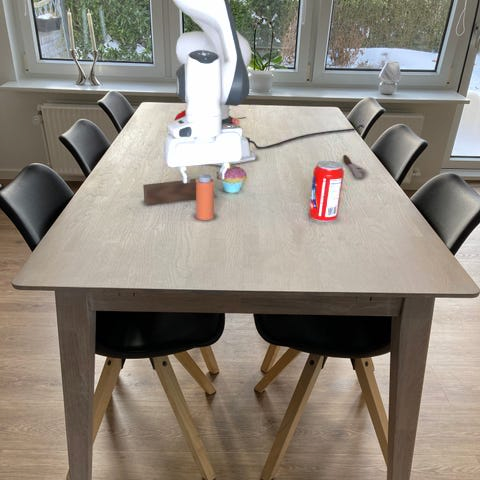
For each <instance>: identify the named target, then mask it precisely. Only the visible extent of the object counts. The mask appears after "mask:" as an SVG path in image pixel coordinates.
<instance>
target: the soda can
mask: <svg viewBox="0 0 480 480" xmlns="http://www.w3.org/2000/svg"><path fill="white" fill-rule="evenodd" d="M344 176H345V170H344V169H343V164H342V163H340V162H339V161H335V160H320V161H317V163H316V166H315V167H314V168H313V172H312V181H311V191H310V200H309V208H308V216H309V217H310V218H311V219H313V220H314V221H316V222H318V223H319V222H320V223H330V222H333V221H335V220H336V219H337V218H338V215H339V210H340V201H341V197H342V196H341V195H342V188H343V182H344Z"/></svg>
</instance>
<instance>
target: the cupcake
mask: <svg viewBox="0 0 480 480" xmlns="http://www.w3.org/2000/svg"><path fill="white" fill-rule="evenodd" d="M247 178H248V176H247V172H246V171H245V169H244V168H242V167H241V166H237V165H231V164H230V162H229V166H228V168H227V170H226V172H225V173H224V179H221V180H220V182H221V184H222V186H223V190H224V192H226V193H230V194H235V193H239V192H240V191H241V188H242V185H243V183H244V182H246V181H247Z"/></svg>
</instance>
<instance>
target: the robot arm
mask: <svg viewBox="0 0 480 480" xmlns="http://www.w3.org/2000/svg"><path fill="white" fill-rule="evenodd" d="M172 1H173V4H174V5H175V7H177V9H179V11H181V12H182V13H183V14H185V15H187V16H188V17H190V19H191V21H193V23H195V24H196V25H198V26H199V27H200V29H201V30H202V31H201V30H200V31H199V30H194V31H193V30H192V31H187V32H183V33H181V34H180V36H179V37H178V39H177V40H176V44H175V54H176V58H177V60H178V62H179V64H180V65H181V66H179V67H178V69H177V70H176V71H175V75H176V92H175V93H176V94H175V95H176V96H177V97H178V98H179V99H180V100H181V101H182V102H183V103H186V106H185V107H186V108H185V110H186V116H184V117H182V118H180V119H178V120H175V119H174V120H175V121H174V120H173V121H170V122H168V123H167V124H166V131H167V132H168V134H167V135H166V136H165V139H164V142H163V162H164V163H165V164H166V165H167V166H168V167H169V168H170V169H171V168H177V169H178V171H179V173H180V174H181V175H182V180H183V182H184V183H190V179H191V176H190V175H189V174H188V173H186V172H185V171H187V167H194V166H203V165H204V166H205V165H215V166H219V167H220V169H219V170H217V171H216V179H217V180H218V181H221V179H224V173H225V172H226V170H227V168H228V166H229V162H230V165H235V164H239V163H240V164H241V163H245V162H252V161H255V160H256V159H257V157H256V154H255V152H253V151H252V150H251V149H250V148H251V147H250V143H251V144H253V146H254V147H255V148H256V149H258V150H264V149H269V148H272V147H275V146H279V145H282V144H285V143H288V142H291V141H295V140H298V139H302V138H305V137H311V136H315V135H316V136H317V135H324V134H331V133H340V132H341V133H342V132H351V131H357V130H358V129H360V128H365V127H364V125H363V124H359V125H358V126H357V127H353V128H345V129H344V128H343V129H336V130H327V131H318V132H312V133H308V134H303V135H298V136H295V137H291V138H288V139H284V140H283V141H279V142H276V143H272V144H269V145H267V146H259V145H257V143H256V142H255V141H254V140H251V138H250V137H247V136H245V135H244V134H243V129H242V127H241V126H240V125H239V124H240V119H236V118H237V117H232V116H231V115H230V111H229V110H230V106H232V107H238V106H239V105H241V104H242V103H244V101H245V100H246V99H247V98H248V97H249V95H250V89H251V87H250V85H251V83H250V76H249V73H248V68H249V67H250V63H251V60H252V48H251V45H250V42H249V41H248V40H247V39H246V38H245V37H244V36H242V35H241V33H240V32H239V31H238V30H237V28H236V23H235V19H234V16H233V12H232V9H231V4H230V2H229V0H172Z"/></svg>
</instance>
